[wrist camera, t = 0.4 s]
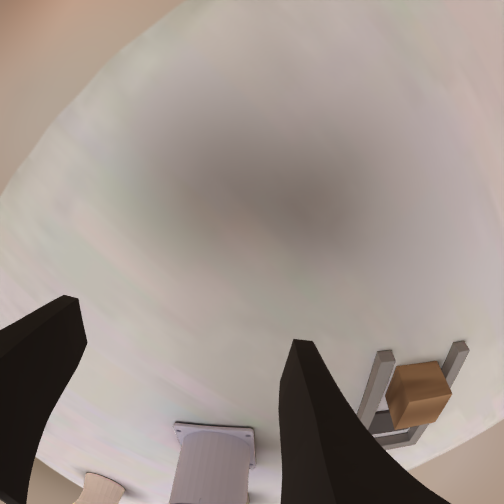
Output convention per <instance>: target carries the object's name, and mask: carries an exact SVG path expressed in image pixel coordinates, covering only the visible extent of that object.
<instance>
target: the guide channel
mask: <svg viewBox="0 0 504 504" xmlns="http://www.w3.org/2000/svg"><path fill="white" fill-rule="evenodd" d="M468 353H469V348H468V346H467V345H466V343H465V342H464V341H461V342H454V343H453V345H452V347H451V349H450V352H449V354H448V356H447V358H446V361H445V363H444V365H443V367H442V369H441V371H442V373H443V375H444V377H445V379H446V381H447V383H448V385H449V388H451V386H452V384H453V382H454V380H455V379H456V377H457V375H458V373H459V371H460V369H461V367H462V365H463V363H464V361H465V359H466V357H467V355H468ZM394 364H395V358H394V356H393V353H392V351H391V350H390V351H379V352H377V354H376V358H375V361H374V365H373V368H372V371H371V374H370V378H369V381H368V384H367V387H366V390H365V393H364V396H363V399H362V402H361V405H360V407H359V410H358V413H357V417H358V418H359V419H360V421H361V422H362V423H363V425H364V426H365V427H366V429H367V430H368V429H369V426H370V424H371V422H372V420H373V417H374V415H375V413H376V410H377V408H378V406H379V403H380V401H381V398H382V396H383V393H384V391H385V388H386V386H387V383H388V380H389V378H390V375H391V372H392V370H393V367H394ZM428 425H429V423H428V424H423V425H418V426H413V427H410V429H409V430H408V432H407V433H403V434H398V435H392V436H386V437H379V438H375V440H376V441H377V442H378V443H379V444H380V445H381V446H382V447H383V448H384V450H388V449H394V448H399V447H405V446H410V445H414V444H416V442H417V441H418V440H419V438H420V437H421V435H422V434H423V432H424V431H425V429H426V428H427V426H428Z"/></svg>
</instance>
